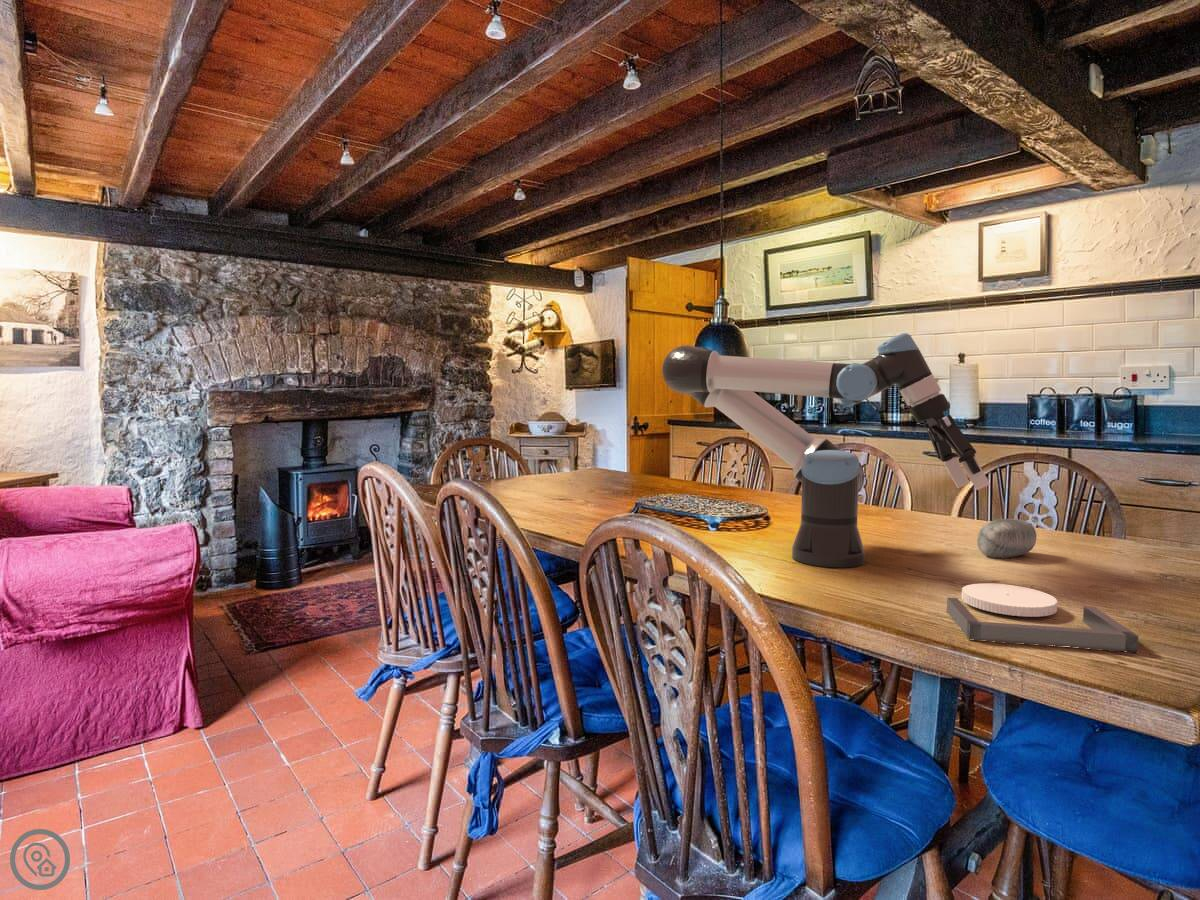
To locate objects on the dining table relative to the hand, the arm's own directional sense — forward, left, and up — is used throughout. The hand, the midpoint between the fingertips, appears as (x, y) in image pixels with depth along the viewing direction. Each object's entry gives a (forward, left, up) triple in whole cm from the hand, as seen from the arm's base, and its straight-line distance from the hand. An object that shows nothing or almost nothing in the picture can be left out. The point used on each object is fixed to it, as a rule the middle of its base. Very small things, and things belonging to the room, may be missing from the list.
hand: (973, 486), depth 151 cm
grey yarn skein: (+9, +5, -16) cm, 19 cm away
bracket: (-3, -48, -16) cm, 51 cm away
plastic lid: (-3, -36, -16) cm, 40 cm away
